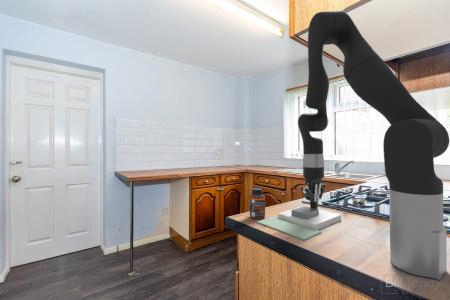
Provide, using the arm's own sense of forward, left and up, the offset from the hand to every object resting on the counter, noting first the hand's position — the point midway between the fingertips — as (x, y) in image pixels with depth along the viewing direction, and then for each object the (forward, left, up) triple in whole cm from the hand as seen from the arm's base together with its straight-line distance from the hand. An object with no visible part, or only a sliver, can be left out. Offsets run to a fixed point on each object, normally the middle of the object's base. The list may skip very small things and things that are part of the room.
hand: (314, 210), depth 86 cm
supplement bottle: (+14, +16, -3) cm, 22 cm away
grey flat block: (0, +6, -1) cm, 6 cm away
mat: (0, +16, -3) cm, 16 cm away
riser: (0, +3, -3) cm, 4 cm away
